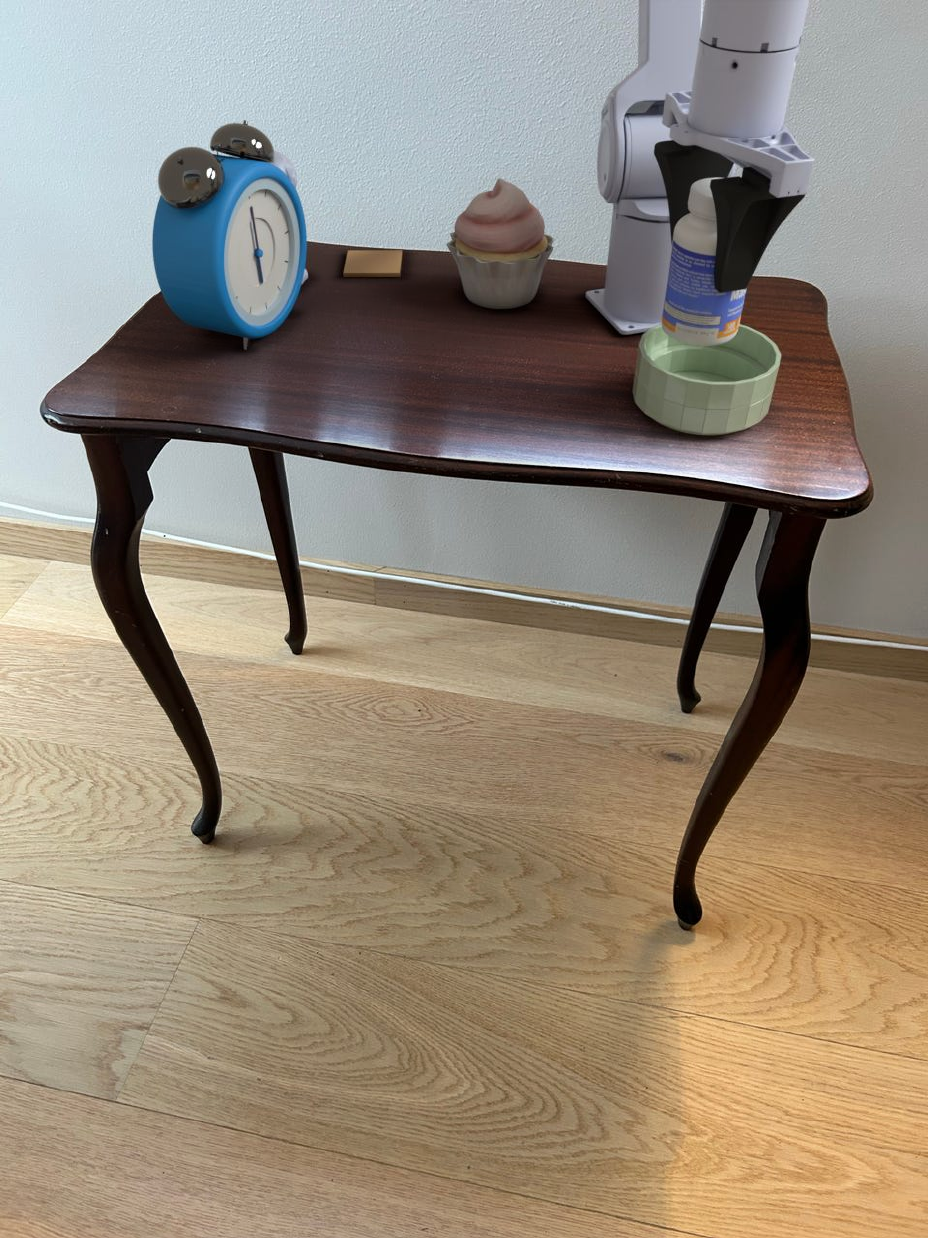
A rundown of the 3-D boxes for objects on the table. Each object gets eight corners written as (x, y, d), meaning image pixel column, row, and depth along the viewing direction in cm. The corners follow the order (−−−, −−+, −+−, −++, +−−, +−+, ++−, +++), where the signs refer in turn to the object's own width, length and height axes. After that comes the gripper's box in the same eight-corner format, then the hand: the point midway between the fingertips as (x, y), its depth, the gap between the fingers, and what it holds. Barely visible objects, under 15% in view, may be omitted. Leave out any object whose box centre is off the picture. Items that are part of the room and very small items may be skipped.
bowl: (724, 363, 76) (735, 309, 73) (793, 427, 69) (808, 371, 66) (610, 383, 74) (617, 328, 70) (669, 451, 67) (679, 393, 64)
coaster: (402, 253, 92) (402, 249, 91) (400, 276, 88) (400, 272, 88) (348, 254, 92) (347, 250, 91) (343, 277, 88) (343, 272, 87)
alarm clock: (234, 370, 75) (197, 171, 65) (169, 355, 77) (123, 159, 67) (317, 300, 84) (295, 115, 73) (257, 288, 86) (227, 105, 75)
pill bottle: (737, 351, 65) (768, 206, 59) (657, 344, 66) (679, 199, 59) (736, 316, 69) (766, 175, 62) (661, 309, 70) (682, 170, 63)
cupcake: (440, 276, 88) (438, 161, 81) (540, 270, 89) (546, 156, 82) (454, 322, 81) (453, 201, 74) (561, 315, 82) (570, 195, 75)
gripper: (632, 18, 59) (609, 237, 69) (753, 79, 49) (707, 325, 59) (732, 10, 61) (696, 225, 70) (870, 67, 51) (807, 309, 60)
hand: (708, 270), depth 65 cm, fingers closed on pill bottle, 5 cm apart
